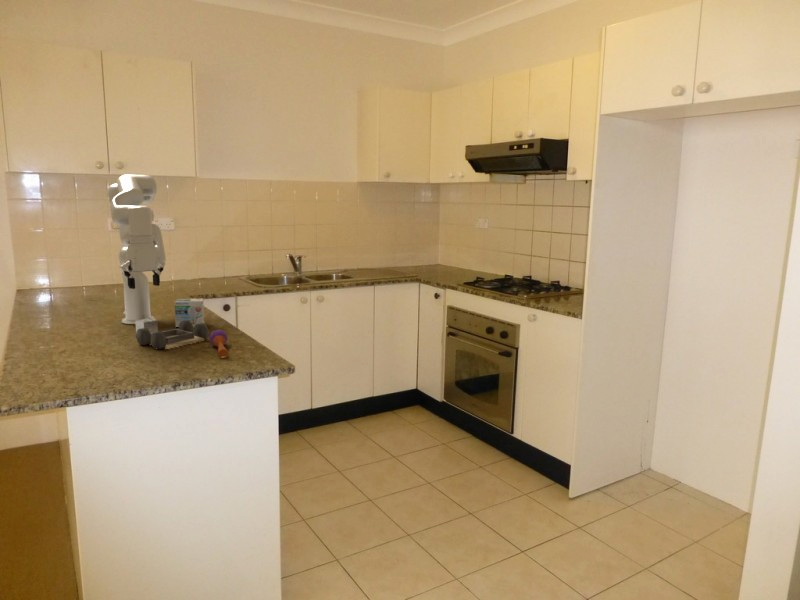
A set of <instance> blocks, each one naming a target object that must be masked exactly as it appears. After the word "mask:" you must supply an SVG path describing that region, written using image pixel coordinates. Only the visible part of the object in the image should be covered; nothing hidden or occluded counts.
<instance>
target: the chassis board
mask: <svg viewBox="0 0 800 600" xmlns="http://www.w3.org/2000/svg"><path fill="white" fill-rule="evenodd" d="M135 335H136V336H135V337H136V340H137V343H138V345H140V344H142V345H144V346H147V344H151V345H152V347H153V349H155V348H157V349H159V350H161V349H162V348H172V347H176V346H181V345H185V344H190V343H194V342H198V341H202V340H204V341H205V340H206V338H207V339H208V336H209V335H210V334H209V328H208V325H206V323H205V322H204V323H200V324H196V325H195V326H194V327H193V325H192V323H191V322H190V321H189V320H184V321H181V322H180V324H179V328H174V329H167V330H163V331H162V330H161V331H159V330H158V332H154V333H153V334H150V331H149V330H148V329H147V328H141V329H138V330H137V333H136V332H135ZM151 345H150V346H151ZM162 350H163V349H162Z"/></svg>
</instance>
